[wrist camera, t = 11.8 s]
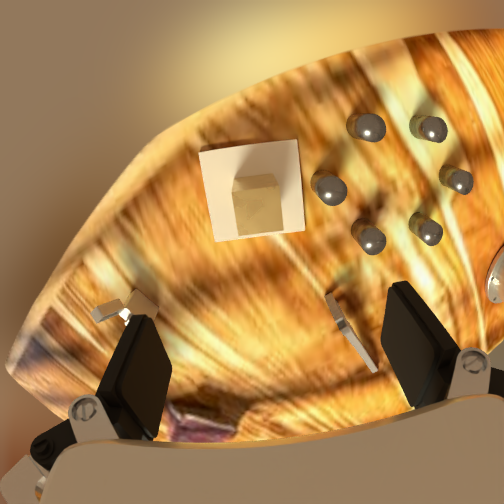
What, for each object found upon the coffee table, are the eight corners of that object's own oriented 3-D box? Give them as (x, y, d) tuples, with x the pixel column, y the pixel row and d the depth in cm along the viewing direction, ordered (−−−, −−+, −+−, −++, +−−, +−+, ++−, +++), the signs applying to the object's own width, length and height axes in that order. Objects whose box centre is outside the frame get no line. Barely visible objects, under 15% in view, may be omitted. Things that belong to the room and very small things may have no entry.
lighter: (159, 308, 37) (144, 349, 30) (152, 314, 37) (135, 355, 30) (119, 272, 35) (94, 309, 27) (112, 280, 35) (87, 317, 28)
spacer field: (454, 118, 27) (474, 121, 23) (450, 228, 33) (466, 240, 29) (303, 115, 27) (312, 115, 24) (314, 246, 34) (322, 262, 30)
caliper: (322, 293, 37) (334, 324, 31) (329, 289, 37) (343, 319, 31) (372, 370, 44) (383, 397, 39) (377, 367, 44) (389, 394, 38)
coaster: (296, 139, 28) (296, 139, 28) (304, 228, 33) (305, 230, 32) (199, 152, 29) (198, 152, 28) (215, 240, 33) (215, 242, 32)
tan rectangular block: (272, 173, 29) (279, 185, 24) (276, 209, 31) (283, 230, 26) (233, 178, 29) (231, 192, 24) (239, 214, 31) (238, 236, 26)
